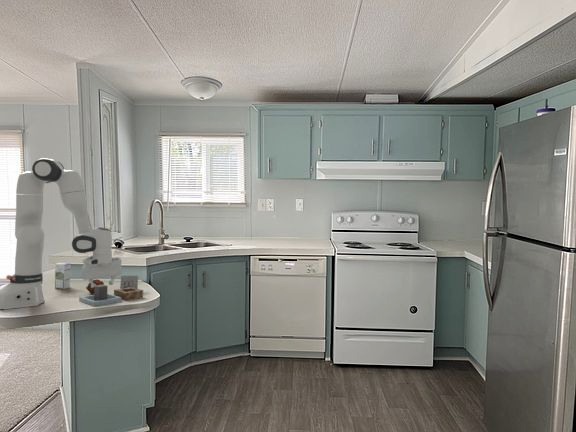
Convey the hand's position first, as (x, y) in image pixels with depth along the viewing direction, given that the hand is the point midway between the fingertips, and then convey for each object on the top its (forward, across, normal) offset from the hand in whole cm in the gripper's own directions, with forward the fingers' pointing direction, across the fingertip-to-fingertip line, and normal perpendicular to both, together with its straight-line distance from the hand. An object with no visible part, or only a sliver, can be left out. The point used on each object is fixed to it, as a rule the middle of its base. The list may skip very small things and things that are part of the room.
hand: (102, 285), depth 207 cm
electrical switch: (+8, -22, -11) cm, 26 cm away
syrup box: (+8, 0, -43) cm, 44 cm away
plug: (+8, +1, 0) cm, 8 cm away
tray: (+8, +1, 0) cm, 8 cm away
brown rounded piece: (+8, -6, -18) cm, 21 cm away
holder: (+8, -14, +2) cm, 16 cm away
